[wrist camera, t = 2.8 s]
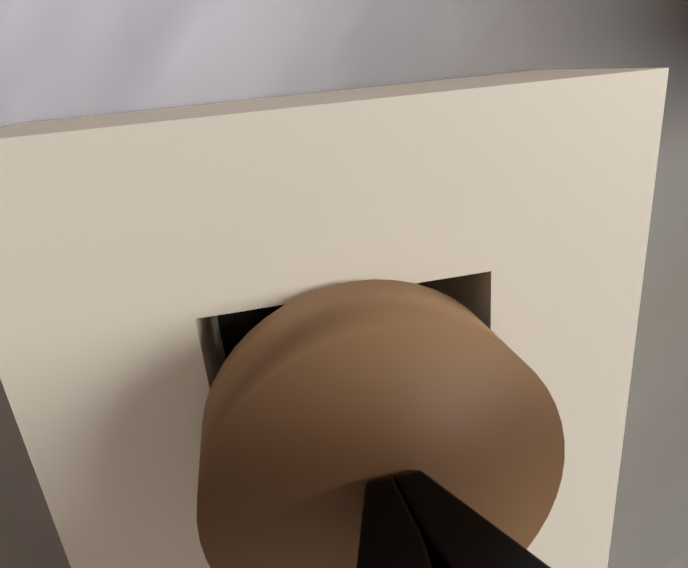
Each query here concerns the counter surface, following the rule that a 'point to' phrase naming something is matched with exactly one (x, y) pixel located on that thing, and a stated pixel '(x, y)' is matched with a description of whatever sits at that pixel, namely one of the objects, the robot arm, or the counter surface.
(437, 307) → the walnut knob
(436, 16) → the counter surface
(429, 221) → the knob panel
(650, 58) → the counter surface
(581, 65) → the counter surface
